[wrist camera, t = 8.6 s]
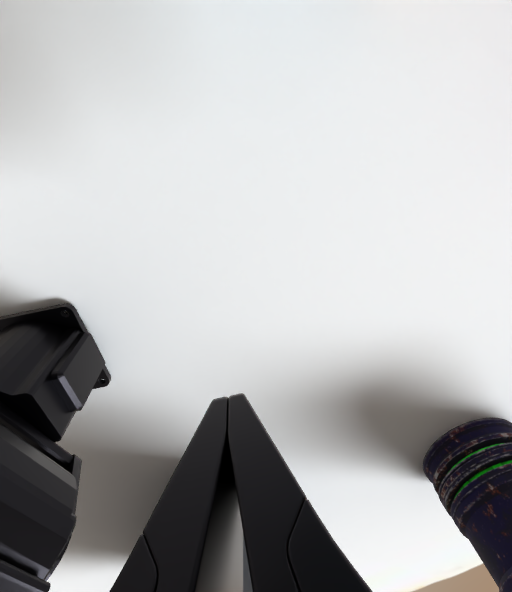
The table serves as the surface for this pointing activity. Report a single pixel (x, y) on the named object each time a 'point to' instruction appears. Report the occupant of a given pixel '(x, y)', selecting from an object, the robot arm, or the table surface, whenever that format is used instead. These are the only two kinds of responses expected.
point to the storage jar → (478, 489)
